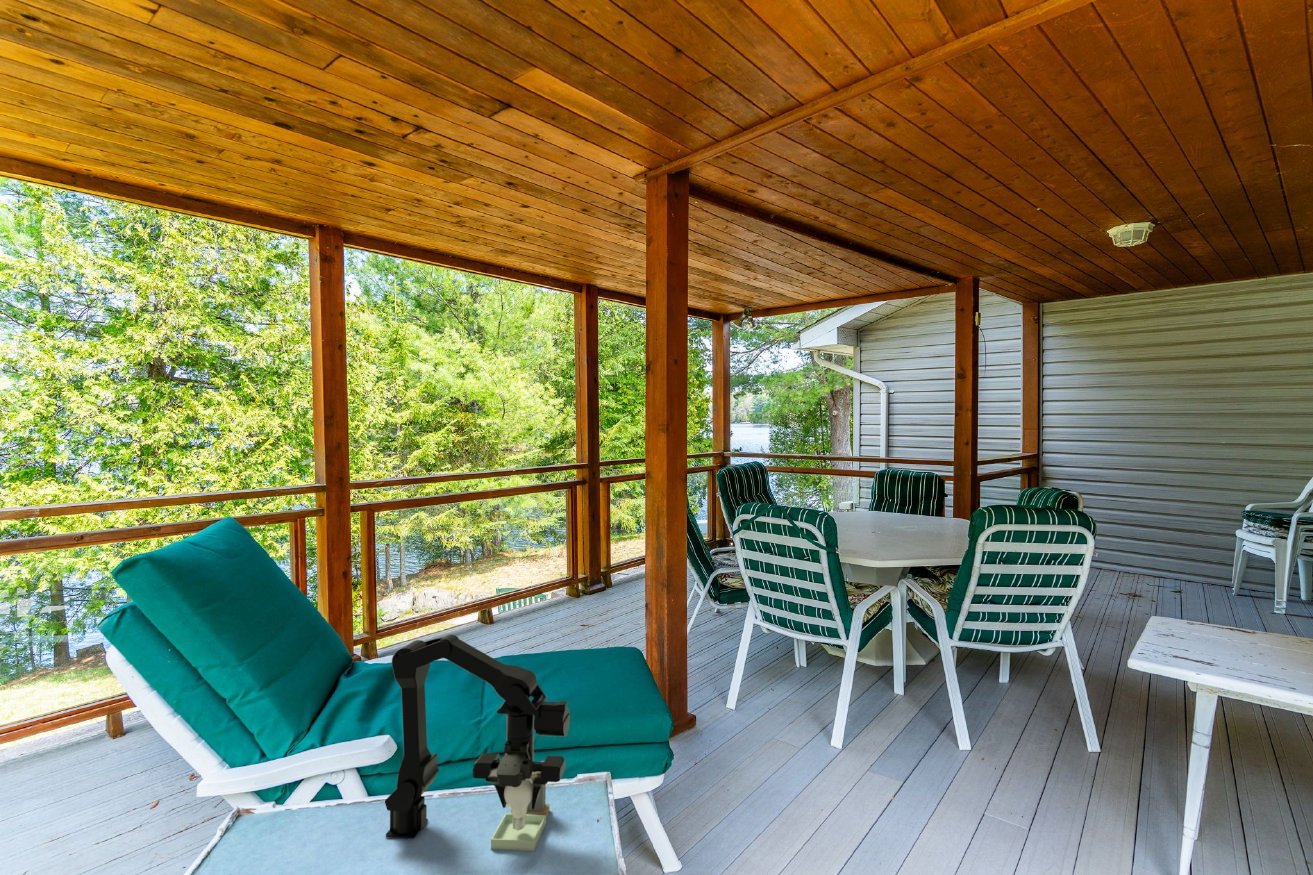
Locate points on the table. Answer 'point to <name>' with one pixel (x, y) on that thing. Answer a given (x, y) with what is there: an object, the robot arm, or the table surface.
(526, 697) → the robot arm
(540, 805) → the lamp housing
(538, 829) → the tray
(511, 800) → the lightbulb
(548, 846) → the table surface
